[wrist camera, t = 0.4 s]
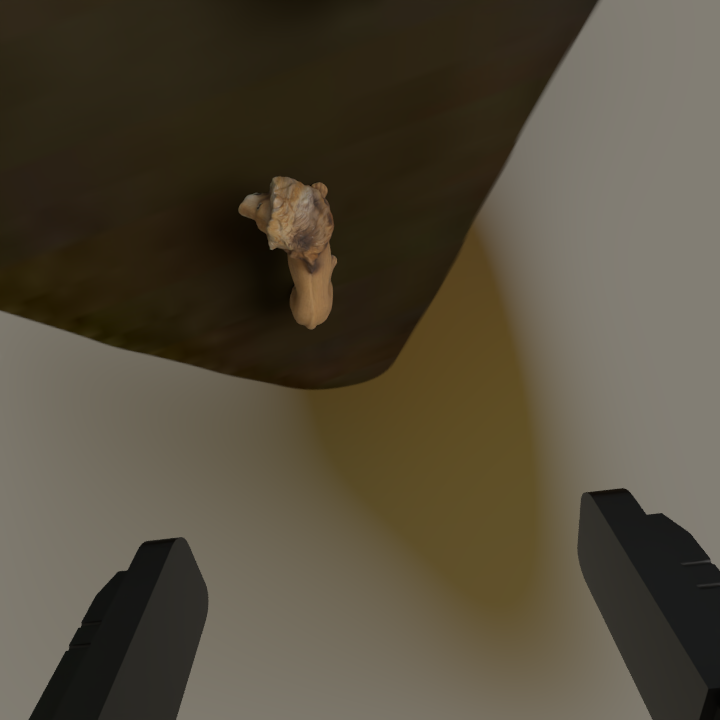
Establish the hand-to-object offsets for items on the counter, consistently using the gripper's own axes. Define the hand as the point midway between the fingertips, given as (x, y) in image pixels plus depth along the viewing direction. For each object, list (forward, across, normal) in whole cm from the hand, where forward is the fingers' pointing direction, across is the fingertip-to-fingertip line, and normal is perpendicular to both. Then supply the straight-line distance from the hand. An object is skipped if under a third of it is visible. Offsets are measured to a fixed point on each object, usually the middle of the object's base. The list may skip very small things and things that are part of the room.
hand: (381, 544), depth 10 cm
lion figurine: (+31, +5, 0) cm, 32 cm away
